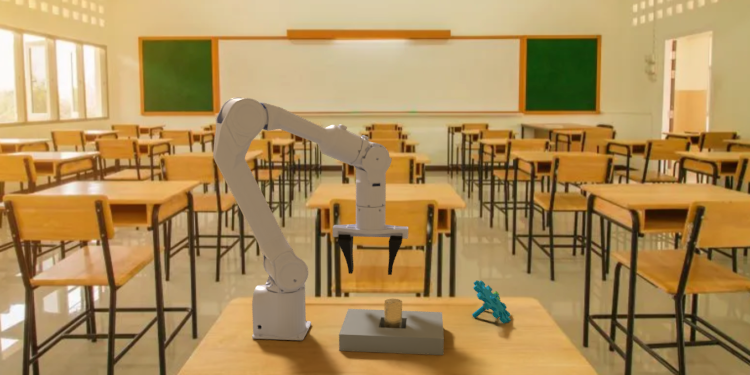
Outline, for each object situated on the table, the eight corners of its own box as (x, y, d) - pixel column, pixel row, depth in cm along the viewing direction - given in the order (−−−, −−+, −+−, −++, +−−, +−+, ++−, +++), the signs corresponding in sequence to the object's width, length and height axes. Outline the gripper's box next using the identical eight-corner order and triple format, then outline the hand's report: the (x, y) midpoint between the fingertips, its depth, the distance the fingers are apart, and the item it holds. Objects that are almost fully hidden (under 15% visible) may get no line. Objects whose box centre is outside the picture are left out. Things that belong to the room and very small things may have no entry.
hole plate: (339, 350, 102) (339, 334, 102) (348, 323, 114) (348, 308, 113) (443, 355, 100) (443, 338, 100) (441, 327, 112) (442, 312, 112)
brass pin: (383, 341, 106) (383, 304, 105) (384, 334, 109) (385, 298, 108) (401, 342, 105) (401, 305, 104) (402, 335, 109) (402, 299, 107)
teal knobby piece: (508, 324, 109) (473, 282, 112) (484, 343, 111) (450, 300, 114) (518, 312, 120) (485, 273, 122) (496, 329, 121) (465, 290, 124)
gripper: (409, 201, 116) (408, 267, 118) (336, 199, 117) (336, 265, 119) (408, 208, 109) (407, 278, 111) (330, 206, 110) (331, 276, 112)
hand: (370, 272), depth 115 cm, fingers open, 7 cm apart
